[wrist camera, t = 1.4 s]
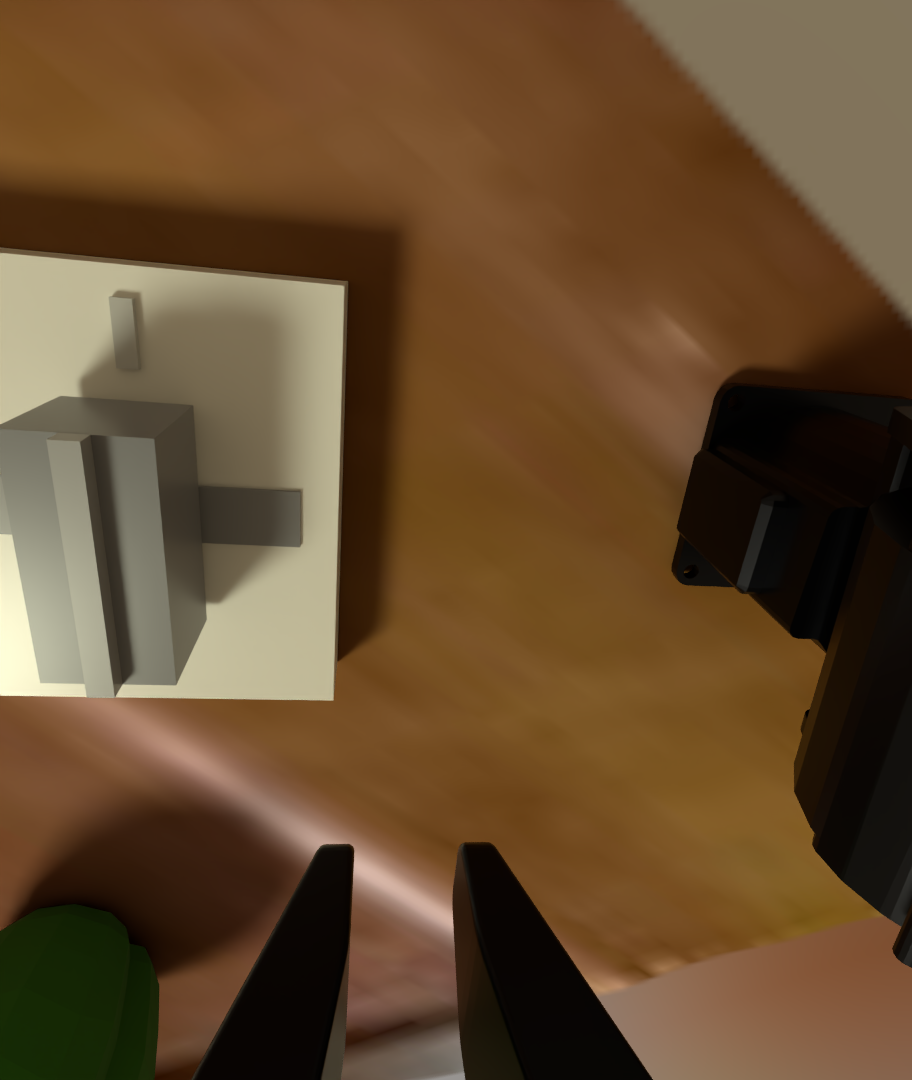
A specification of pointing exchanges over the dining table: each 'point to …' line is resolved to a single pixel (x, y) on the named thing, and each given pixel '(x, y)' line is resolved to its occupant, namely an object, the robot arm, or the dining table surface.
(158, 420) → the fader cap
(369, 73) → the dining table surface
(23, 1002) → the bell pepper
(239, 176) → the dining table surface
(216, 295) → the dimmer console
